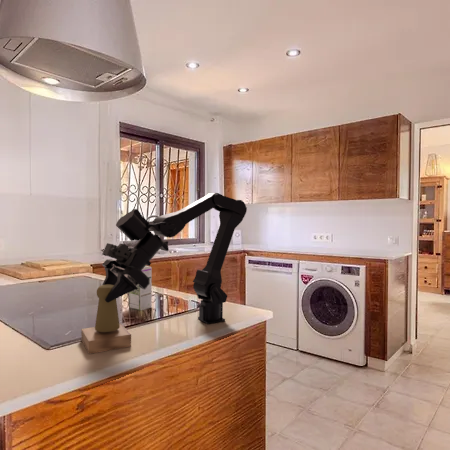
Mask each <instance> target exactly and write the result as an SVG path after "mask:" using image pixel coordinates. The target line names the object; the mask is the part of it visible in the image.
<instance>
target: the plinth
mask: <svg viewBox="0 0 450 450" xmlns="http://www.w3.org/2000/svg"><path fill="white" fill-rule="evenodd" d="M119 325H120V328H119V329H117V330H114V331H110V332H99V331H96V330H95V326H93V327H87V328H86V327H85V328H81V332H80V333H81V335H80V336H81V339H80V340H82V341H81V342H82V344H83V346H84V347H85V349H86V352H87V353H88V354H89V355H91V354H96V353H101V352H106V351H108V352H109V351H112V350H119V349H123V348H128V347H131V346H132V334H131V333H130V332H129V330H128V329H126V327H124V325H123V324H122V323H120V322H119Z"/></svg>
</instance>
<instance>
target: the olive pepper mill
mask: <svg viewBox="0 0 450 450" xmlns="http://www.w3.org/2000/svg"><path fill="white" fill-rule="evenodd" d="M113 286H114V285H111V284H106V285H99V286H98V288H97V289H96V297H97V298H98V303H97V309H96V319H95V326H94V327H95V330H96V331H99V332H110V331H114V330H117V329H119V328H120V325H119V323H120V318H119V311H118V304H117V298H116V299H114V300H112V301H110V302H106V301H105V298H106V297H107V295H108V294H109V292H110V291H111V289H112V288H113Z"/></svg>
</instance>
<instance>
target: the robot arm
mask: <svg viewBox="0 0 450 450" xmlns="http://www.w3.org/2000/svg"><path fill="white" fill-rule="evenodd" d="M247 208H248V207H247V205H246V203H245V202H244V201H243V200H242V199H234V198H232V197H229V196H225V195H223V194H221V193H220V192H219V193H218V192H210V193H207V194H206V195H205V196H203V197H201V198H199V199H198V200H195V201H194V202H192V203H191V204H188V205H187V206H185V207H183V208H181V209H179V210H177V211H174V212H171V213H166V214H163V215H160V216H157V217H155V218H154V219H153V220H151V221H148V220H147V219H146V218H145V217H144V216H143V215H142V213H141V212H140V210H138V209H137V208H133V209H131V211H129V212H127V213H126V214H125V215H122V216H121V217H120V218H119V219H118V220H117V222H116V224H115V226H116V227H117V228H118V230H119V231H121V233H122V234H124V235H125V237H126V238H128V239H129V241H131V242H132V241H137V242H136V244H135V245H134V246H133V247H129V246H128V245H126V244H125V243H119V244H118V245H116V244H113V243H109V242H106V245H105V247H104V249H103V251H102V254H101V255H103V256H105V257H110V258H109V259H105V261H104V262H103V263H102V264H101V266H103V267H104V271H105V278H104V280H103V282H102V285H106V284H111V285H114V286H113V288H112V289H111V291H110V292H109V294H108V295H107V297H106V298H105V301H106V302H110V301H112V300H114V299H116V300H117V299H118V298H121V297H122V296H124V295H126V294H129V292H131V291H133V290H137V289H138V288H137V287H136V286H137V285H138V284H139V287H140V288H142V289H144V290H145V289H146V288H147V287H148V285H149V284H150V279H149V278H148V277H147V276H146V275H145V274H144V273H143V272H142V269H143V268H144V267H145V266H149V267H151V264H152V263H151V260H152V259H153V258H154V257H155V256H156V255H157V253H158V252H159V251H160V250H161V251H165V252H169V241H168V240H164V239H162V238H161V237H163V238H174V237H175V236H177V235H178V234H179V233H180V232H182V231H183V230H184V229H185V227H186V225H187V224H189V223H190V222H191V221H193V220H195V219H197V218H198V217H201V216H202V215H203V214H205V213H207V212H208V211H211V210H212V209H214V210H215V211H218V212H219V213H218V217H219V226H218V230H217V231H216V236H215V238H214V241H213V244H212V247H211V250H210V253H209V255H208V258H207V261H206V264H205V266H204V268H202V269H197V270H196V272H195V276H194V279H193V280H192V282H193V284H192V285H193V286H192V288H193V290H194V293H195V294H196V296H197V298H198V299H199V300H200V304H199V307H198V309H199V310H198V315H199V316H198V317H197V319H198V320H200V321H202V322H203V323H205V324H207V325H210V324H216V323H221V322H225V321H226V318H224V317H223V316H224V315H223V312H224V309H223V307H224V304H223V303H226V302H227V299H228V295H227V293H226V292H225V291H224V290H223V289H222V283H223V278H222V271H221V270H222V268H223V265H224V262H225V259H226V255H227V254H228V251H229V248H230V245H231V242H232V238H233V235H234V233H235V231H236V228H237V227H238V226H239V225H240V224H241V223H242V221H243V220H244V219H245V217H246V214H247V210H248V209H247Z"/></svg>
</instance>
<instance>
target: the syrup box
mask: <svg viewBox="0 0 450 450" xmlns="http://www.w3.org/2000/svg"><path fill="white" fill-rule="evenodd" d="M142 272H143V273H144V274H145V275H146V276H147V277H148V278H149V279H150V284H149V285H148V287H147V288H146V289H145V290H144V289H142V288H140V287H139V284H138V285H137V286H136V287H137V288H138V289H137V290H133V291H131V292H129V293H128V309H131V310H136V311H144V310H148V309H150V308H152V307H153V301H152V296H153V295H152V292H153V291H152V289H153V288H152V287H153V286H152V283H153V282H152V279H153V278H152V277H153V274H152V272H153V268H152V266H147V265H146V266H145V267H144V268H143V269H142Z"/></svg>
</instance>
